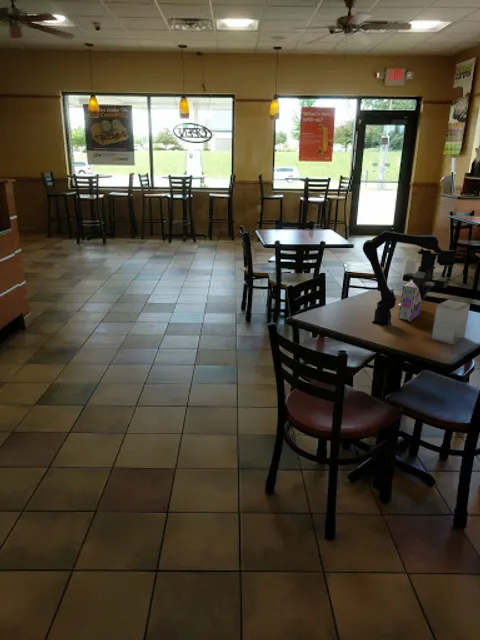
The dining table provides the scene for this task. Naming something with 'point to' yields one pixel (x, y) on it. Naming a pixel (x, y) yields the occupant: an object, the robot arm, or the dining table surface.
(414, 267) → the champagne flute
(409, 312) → the candy box
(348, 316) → the dining table surface
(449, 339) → the caddy
